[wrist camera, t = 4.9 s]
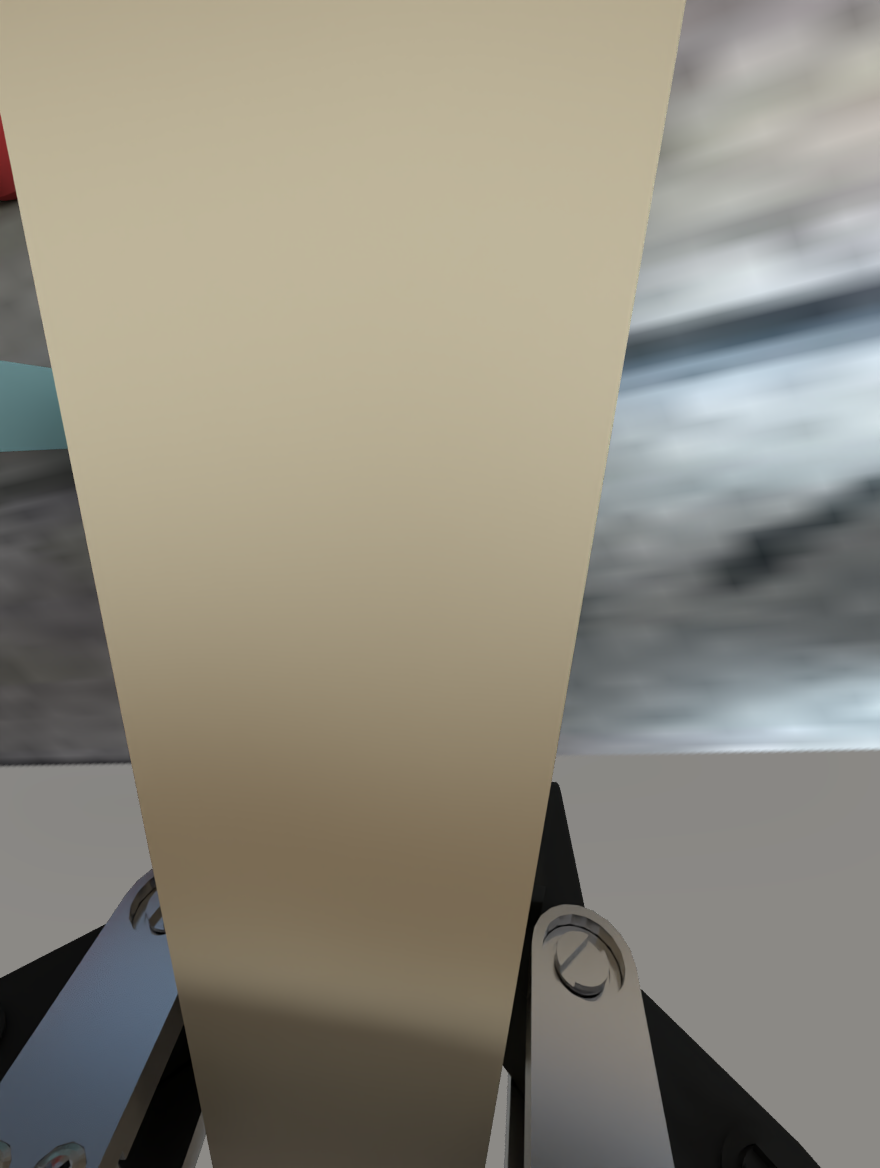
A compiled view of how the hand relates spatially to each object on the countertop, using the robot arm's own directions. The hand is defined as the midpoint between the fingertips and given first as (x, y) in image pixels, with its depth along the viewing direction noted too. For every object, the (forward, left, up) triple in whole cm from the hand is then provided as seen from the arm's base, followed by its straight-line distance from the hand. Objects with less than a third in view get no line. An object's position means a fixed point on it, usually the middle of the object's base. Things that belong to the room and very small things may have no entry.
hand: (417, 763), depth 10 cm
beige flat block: (0, -4, -2) cm, 5 cm away
